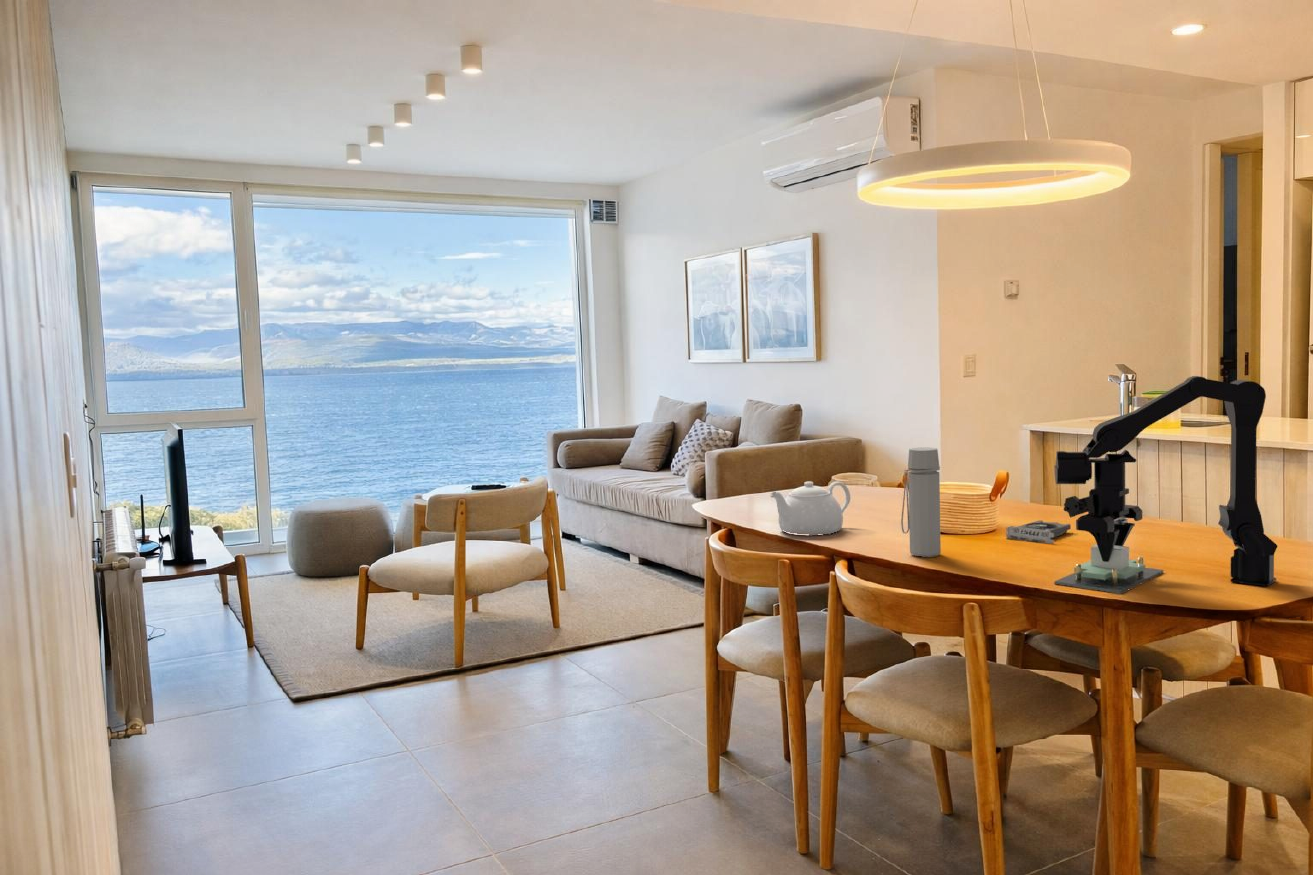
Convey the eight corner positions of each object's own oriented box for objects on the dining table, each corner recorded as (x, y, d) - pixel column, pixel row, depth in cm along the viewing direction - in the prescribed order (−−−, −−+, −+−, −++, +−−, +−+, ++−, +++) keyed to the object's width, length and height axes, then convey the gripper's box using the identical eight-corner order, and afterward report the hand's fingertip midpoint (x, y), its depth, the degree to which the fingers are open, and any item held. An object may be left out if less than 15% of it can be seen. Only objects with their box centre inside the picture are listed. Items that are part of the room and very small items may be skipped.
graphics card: (1051, 532, 235) (1004, 525, 243) (1051, 547, 235) (1004, 540, 244) (1083, 522, 246) (1037, 516, 255) (1082, 537, 246) (1037, 531, 255)
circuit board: (1150, 566, 202) (1150, 543, 202) (1119, 581, 191) (1119, 556, 191) (1101, 560, 209) (1101, 537, 209) (1068, 574, 198) (1068, 550, 198)
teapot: (840, 538, 253) (839, 486, 252) (770, 536, 259) (769, 485, 258) (851, 525, 271) (850, 476, 269) (786, 524, 277) (784, 476, 276)
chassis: (1163, 572, 203) (1163, 555, 203) (1120, 593, 188) (1120, 575, 188) (1099, 564, 213) (1099, 548, 212) (1054, 584, 198) (1054, 566, 197)
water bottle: (945, 552, 231) (944, 447, 229) (936, 559, 224) (934, 451, 222) (907, 549, 236) (905, 446, 233) (896, 556, 229) (894, 450, 227)
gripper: (1089, 476, 211) (1089, 547, 212) (1050, 487, 198) (1050, 562, 200) (1143, 479, 203) (1143, 553, 204) (1106, 491, 190) (1106, 570, 191)
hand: (1109, 559), depth 200 cm, fingers closed on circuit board, 4 cm apart
